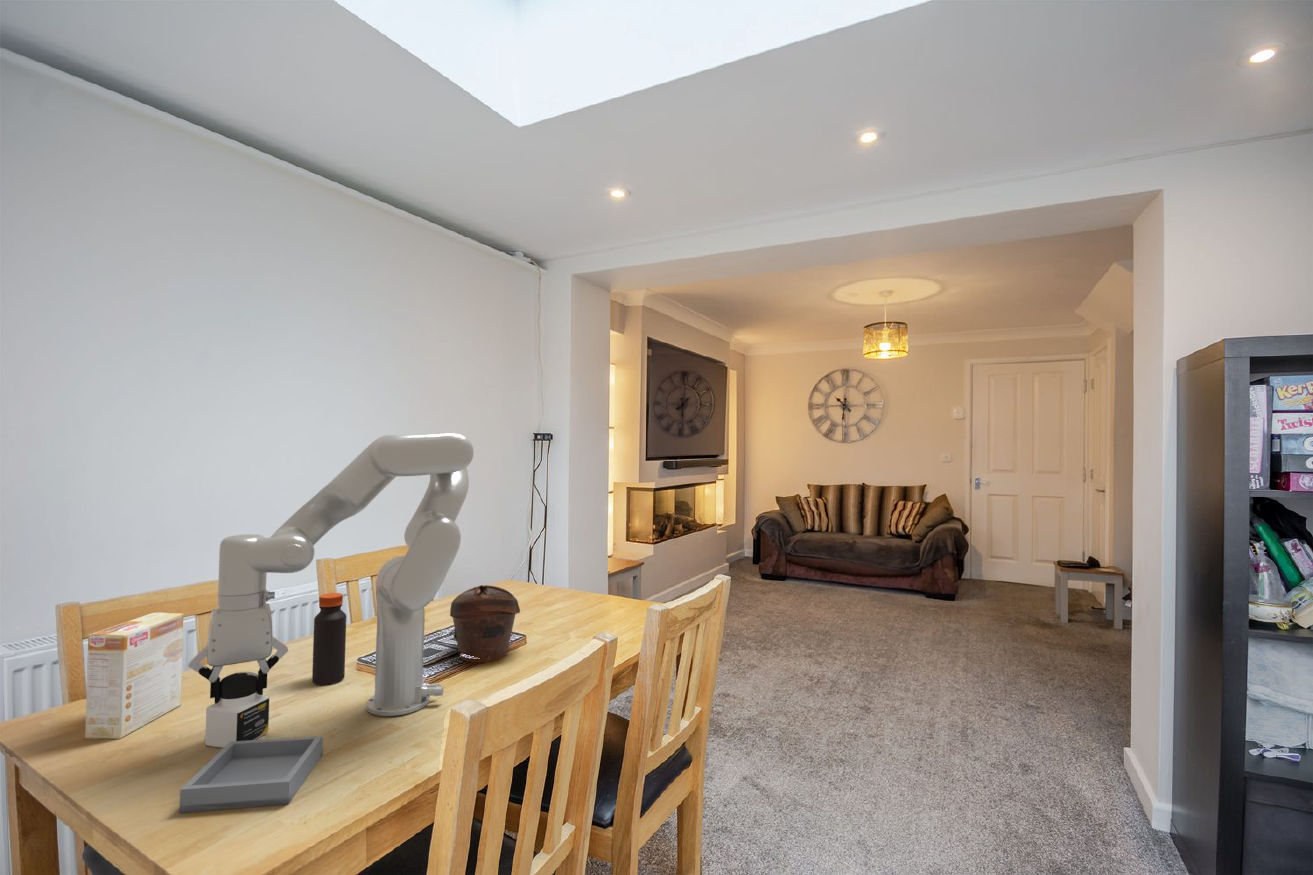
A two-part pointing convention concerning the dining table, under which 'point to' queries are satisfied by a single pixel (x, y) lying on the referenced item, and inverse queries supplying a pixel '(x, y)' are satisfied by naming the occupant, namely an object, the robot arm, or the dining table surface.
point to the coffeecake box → (133, 674)
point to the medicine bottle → (237, 711)
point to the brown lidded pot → (484, 622)
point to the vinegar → (329, 641)
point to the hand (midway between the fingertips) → (238, 695)
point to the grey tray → (252, 774)
